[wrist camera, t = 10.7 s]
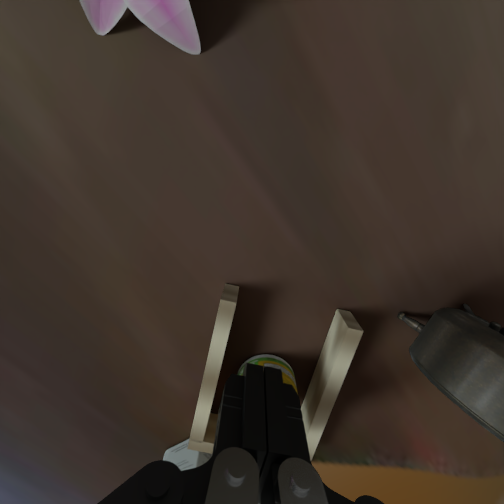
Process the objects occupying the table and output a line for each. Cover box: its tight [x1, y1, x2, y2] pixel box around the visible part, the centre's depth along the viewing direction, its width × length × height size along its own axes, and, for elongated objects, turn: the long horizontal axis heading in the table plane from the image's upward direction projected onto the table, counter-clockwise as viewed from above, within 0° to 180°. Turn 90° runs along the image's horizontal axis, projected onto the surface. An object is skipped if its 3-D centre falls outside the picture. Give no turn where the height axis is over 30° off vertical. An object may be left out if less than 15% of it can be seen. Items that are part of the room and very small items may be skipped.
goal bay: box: [187, 283, 363, 460], centre depth 23 cm, size 15×11×3 cm
